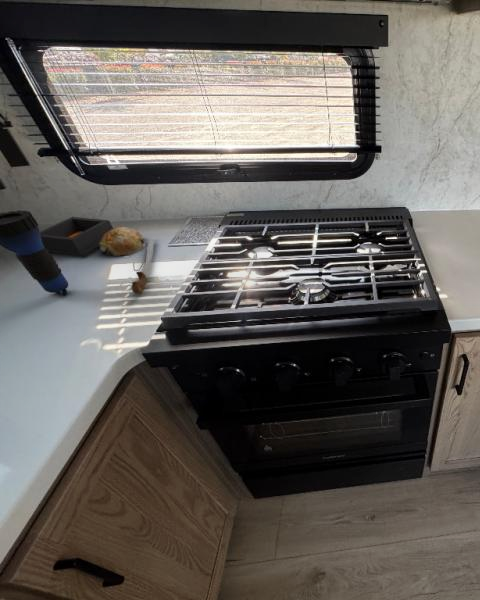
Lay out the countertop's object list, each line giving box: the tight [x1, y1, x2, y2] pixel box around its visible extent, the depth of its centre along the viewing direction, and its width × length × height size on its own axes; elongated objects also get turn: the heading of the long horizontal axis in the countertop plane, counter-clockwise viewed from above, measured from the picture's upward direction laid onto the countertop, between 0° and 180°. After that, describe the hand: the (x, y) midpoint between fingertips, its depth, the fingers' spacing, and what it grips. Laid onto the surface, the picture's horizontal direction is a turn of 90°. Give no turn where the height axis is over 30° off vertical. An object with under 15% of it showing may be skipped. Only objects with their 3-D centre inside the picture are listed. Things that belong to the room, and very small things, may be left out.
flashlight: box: [0, 210, 69, 297], centre depth 76 cm, size 8×8×20 cm
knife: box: [131, 239, 155, 294], centre depth 91 cm, size 4×1×30 cm
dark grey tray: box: [40, 216, 114, 258], centre depth 100 cm, size 15×13×6 cm
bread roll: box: [99, 226, 146, 257], centre depth 99 cm, size 10×10×8 cm
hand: (9, 177), depth 62 cm, fingers open, 13 cm apart
